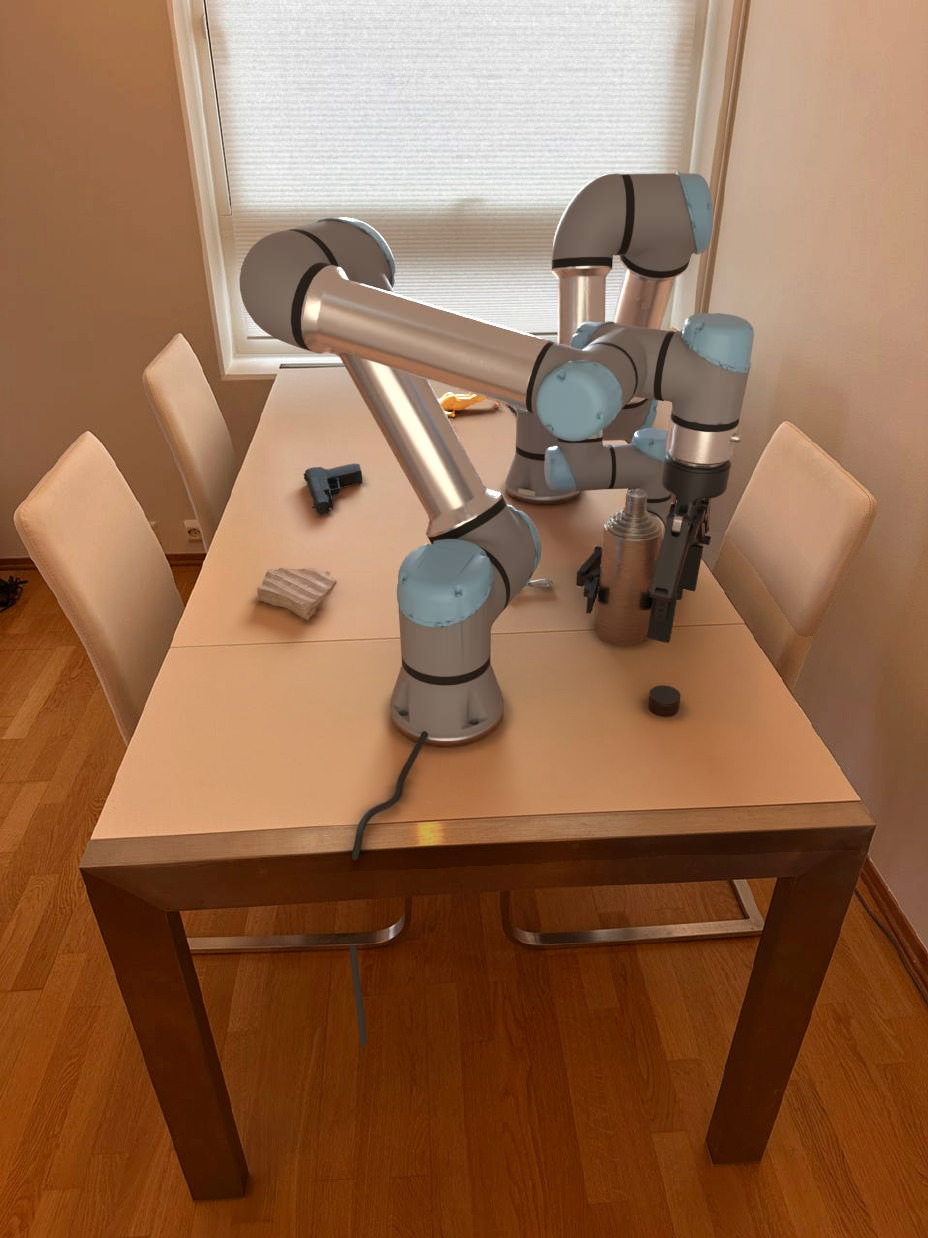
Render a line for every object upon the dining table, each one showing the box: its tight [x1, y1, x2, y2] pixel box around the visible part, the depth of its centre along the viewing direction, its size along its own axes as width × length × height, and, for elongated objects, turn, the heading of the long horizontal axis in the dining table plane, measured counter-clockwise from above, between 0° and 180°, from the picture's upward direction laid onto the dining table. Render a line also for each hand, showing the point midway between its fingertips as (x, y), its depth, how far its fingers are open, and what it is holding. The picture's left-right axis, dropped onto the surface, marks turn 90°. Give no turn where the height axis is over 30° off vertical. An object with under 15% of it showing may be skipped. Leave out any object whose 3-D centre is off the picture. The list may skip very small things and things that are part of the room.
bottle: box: [594, 489, 663, 647], centre depth 132 cm, size 8×8×23 cm
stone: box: [256, 567, 337, 621], centre depth 147 cm, size 13×12×3 cm
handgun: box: [303, 463, 363, 515], centre depth 181 cm, size 3×18×12 cm
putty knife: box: [526, 578, 554, 588], centre depth 148 cm, size 1×8×2 cm, turn 103°
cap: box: [647, 684, 682, 718], centre depth 121 cm, size 4×4×2 cm
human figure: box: [437, 392, 500, 418], centre depth 225 cm, size 20×20×4 cm
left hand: (672, 612), depth 114 cm, fingers open, 13 cm apart
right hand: (621, 610), depth 131 cm, fingers open, 9 cm apart
